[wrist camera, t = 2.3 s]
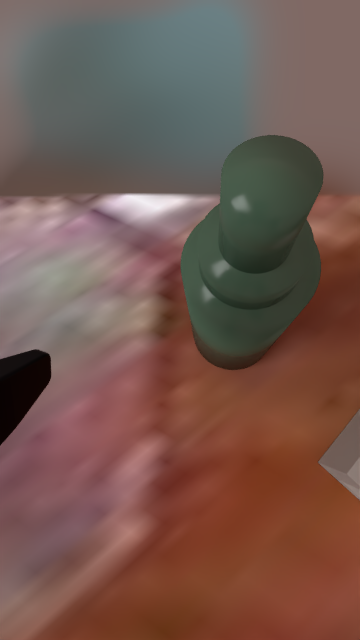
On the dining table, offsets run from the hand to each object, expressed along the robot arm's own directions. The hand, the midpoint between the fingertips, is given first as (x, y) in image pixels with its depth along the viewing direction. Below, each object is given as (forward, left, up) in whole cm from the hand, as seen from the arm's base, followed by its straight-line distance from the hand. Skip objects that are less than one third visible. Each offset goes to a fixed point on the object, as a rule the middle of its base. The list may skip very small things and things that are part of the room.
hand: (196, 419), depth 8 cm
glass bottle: (+4, +4, -12) cm, 14 cm away
